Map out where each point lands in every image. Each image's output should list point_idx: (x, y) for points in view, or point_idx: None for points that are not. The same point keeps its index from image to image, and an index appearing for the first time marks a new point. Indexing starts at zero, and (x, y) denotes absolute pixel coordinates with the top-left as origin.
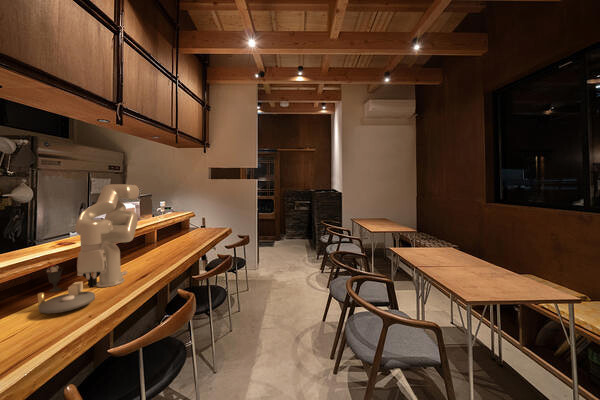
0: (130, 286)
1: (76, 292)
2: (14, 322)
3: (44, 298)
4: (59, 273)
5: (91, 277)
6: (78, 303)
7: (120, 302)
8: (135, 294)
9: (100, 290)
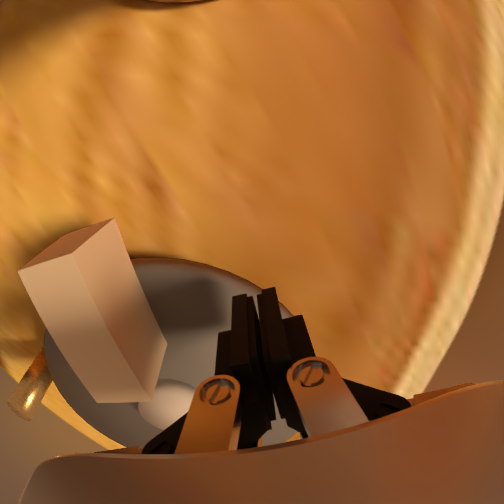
0: (421, 39)
1: (160, 361)
2: (82, 422)
3: (39, 385)
4: None
5: (263, 415)
6: (278, 438)
7: (437, 326)
8: (488, 226)
9: (200, 62)
